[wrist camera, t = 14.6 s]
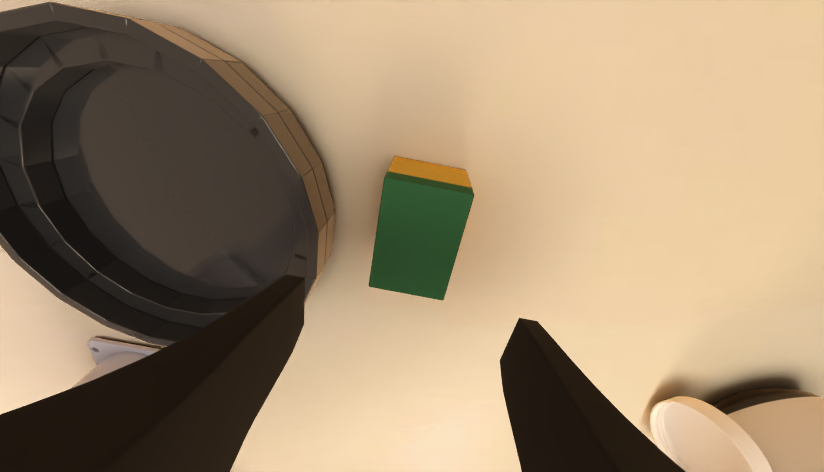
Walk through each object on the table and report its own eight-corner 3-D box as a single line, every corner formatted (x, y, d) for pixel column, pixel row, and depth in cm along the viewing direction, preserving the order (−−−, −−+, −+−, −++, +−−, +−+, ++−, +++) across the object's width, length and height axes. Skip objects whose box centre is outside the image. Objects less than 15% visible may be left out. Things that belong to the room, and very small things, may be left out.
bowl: (328, 333, 23) (311, 373, 20) (85, 288, 23) (30, 322, 20) (349, 62, 15) (326, 59, 12) (-34, -18, 14) (-162, -43, 11)
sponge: (441, 260, 20) (443, 300, 16) (380, 248, 20) (368, 286, 16) (466, 170, 17) (474, 194, 13) (394, 155, 17) (384, 176, 13)
